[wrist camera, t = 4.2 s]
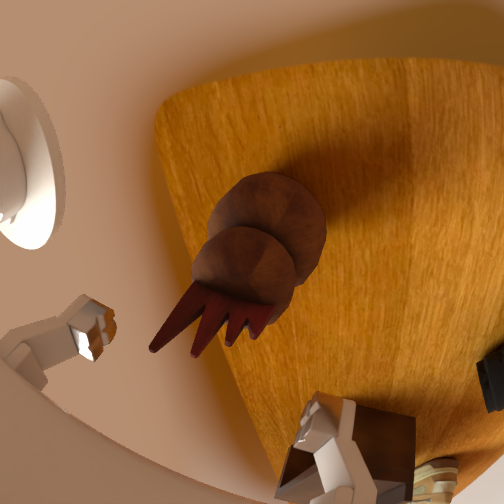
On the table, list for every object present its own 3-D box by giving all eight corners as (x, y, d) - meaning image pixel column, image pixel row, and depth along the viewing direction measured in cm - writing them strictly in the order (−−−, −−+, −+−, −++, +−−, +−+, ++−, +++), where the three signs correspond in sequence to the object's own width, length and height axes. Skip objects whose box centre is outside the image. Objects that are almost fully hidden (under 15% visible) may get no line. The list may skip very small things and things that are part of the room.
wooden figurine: (226, 208, 24) (108, 351, 12) (262, 146, 21) (132, 265, 9) (300, 255, 25) (241, 430, 12) (343, 200, 21) (323, 381, 9)
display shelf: (288, 447, 43) (269, 511, 34) (332, 398, 33) (314, 490, 24) (354, 462, 42) (343, 524, 32) (415, 417, 32) (412, 501, 22)
